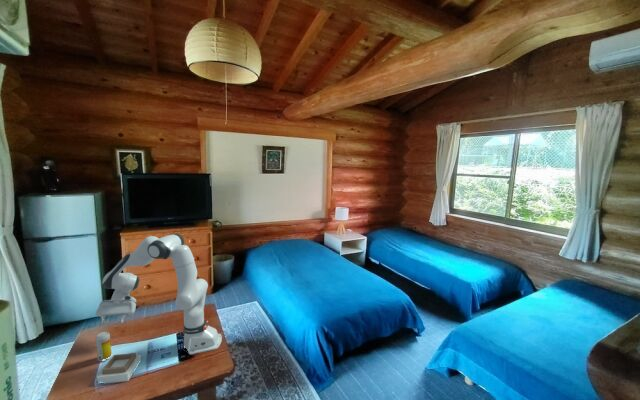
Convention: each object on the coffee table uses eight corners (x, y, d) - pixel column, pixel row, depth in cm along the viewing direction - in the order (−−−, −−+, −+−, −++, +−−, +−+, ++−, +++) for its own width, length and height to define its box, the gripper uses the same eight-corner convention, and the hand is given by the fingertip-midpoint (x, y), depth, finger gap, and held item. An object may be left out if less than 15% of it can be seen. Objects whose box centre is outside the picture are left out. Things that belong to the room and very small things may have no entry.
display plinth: (141, 361, 154) (140, 350, 153) (128, 381, 140) (127, 369, 139) (113, 363, 151) (112, 353, 150) (97, 384, 138) (96, 372, 137)
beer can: (114, 354, 158) (112, 331, 156) (106, 362, 152) (104, 338, 150) (103, 354, 158) (101, 331, 156) (95, 362, 152) (92, 338, 150)
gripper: (98, 298, 166) (89, 323, 158) (135, 296, 169) (128, 320, 161) (103, 301, 171) (95, 325, 163) (139, 299, 174) (132, 323, 166)
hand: (112, 323), depth 162 cm, fingers open, 8 cm apart
